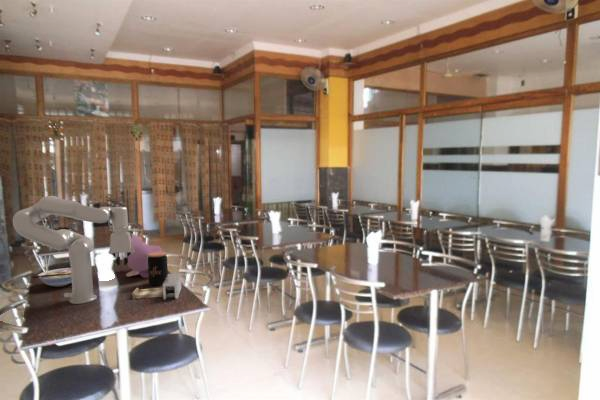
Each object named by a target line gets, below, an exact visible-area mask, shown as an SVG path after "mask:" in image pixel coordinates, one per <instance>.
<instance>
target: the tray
mask: <svg viewBox="0 0 600 400" xmlns="http://www.w3.org/2000/svg"><path fill="white" fill-rule="evenodd" d="M131 294H132V299H133V300H134V299H135V298H137V299H151V298H163V287H158V288H157V287H156V288H144V289H143V288H141V289H139V287H136V288H135V289H134V290H133V292H132V293H131Z"/></svg>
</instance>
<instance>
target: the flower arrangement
mask: <svg viewBox="0 0 600 400" xmlns="http://www.w3.org/2000/svg"><path fill="white" fill-rule="evenodd" d="M130 235H131V241H132V247H133V249H134V250H135V252H134V253H132V254H130V255H129V256H128V263H127V267H128V268H129V269H131V271H129V272H127V273H126V274H125V277H132V276H137V275H138V276H139V275H140V277H142V278H144V279H147V278H148V279H149V275H148V254H149V253H152V252H163V250H162V248H161V247H160V246H159V245H149V244H147V243H146V242H145V241H143V238H142V237H140V236H138V235H136V234H134V233H130ZM129 252H130V251H129ZM129 252H128V253H129Z"/></svg>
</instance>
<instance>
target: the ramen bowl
mask: <svg viewBox="0 0 600 400" xmlns="http://www.w3.org/2000/svg"><path fill="white" fill-rule="evenodd" d="M31 278H32V279H39V280H40V281H41V282H42V283H43V284H45V285H47V286H51V287H52V286H53V287H56V288H59V287H60V288H61V287H66V286H68V285H69V284H70V285H71V284H72V277H71V267H65V268H64V267H63V268H56V269H50V270H47V271H43V272H41V273H39V274H37V275H33V276H31Z"/></svg>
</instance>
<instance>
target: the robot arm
mask: <svg viewBox="0 0 600 400" xmlns="http://www.w3.org/2000/svg"><path fill="white" fill-rule="evenodd" d="M51 215H54V216H58V217H59V216H60V217H66V218H71V219H75V220H79V221H83V222H89V223H94V224H95V223H97V224H103V223H104V224H105V223H106V222H108V221H111V222H112V223H111V225H112V227H111V228H109V232H112V233H110V241H109V250H108V254H109V255H112V256H113V257H114V258H115V264H117V267H119V266H120V265H121V256H120V253H124V258H123V261H124V263H123V265H124V266H126V265H127V263H128V256H129V255H130V254H132V253H134V252H135V250H134V249H133V247H132V241H131V237H132V235H131V233H130V232H129V219H128V218H129V217H128V207H126V206H115V207H113V206H100V207H94V206H88V205H85V204H84V205H83V204H81V203H80V202H79V201H76V200H70V199H64V198H59V197H58V196H57V195H49V196H48V195H47V196H44V197H42V198H40V199H39V201H38V202H36V203H34V204H33V205H31V206H29V207H26V208H23V209H21V210H18V211H17V212H15V214H14V215H13V218H12V225H13V228H14V230H15V231H16V232H17V234H18V235H20V237H21V236H22V237H23V238H25V239H26V240H30V241H32V242H35V243H37V244H39V245H43V246H46V247H48V248H51V249H53V250H56V251H61V250H65V249H66V250H68V258H69V262H70V263H69V265H70V268H71V277H72V283H71V289H72V291H71V292H64V294H63V297H64V299H69V303H71V304H73V305H78V304H79V305H80V304H87V303H90V302H91V303H92V302H94V301H95V300H97V298H98V296H97V294H94V285H93V284H94V283H93V282H94V281H93V267H92V259H91V253H92V251H93V250H94V246H95V244H94V242H93V240H92V239H91V238H90V237H88V236H86V235H83V234H80V233H78V232H75V231H72V230H70V229H64V228H61V229H58V230H55V229H53V228H50V227H46V226H45V225H44V226H43V225H41V224H37V223H39V222H41V221H42V220H44V219H47V217H50V216H51ZM129 251H130V252H129ZM128 252H129V253H128ZM127 266H128V265H127Z"/></svg>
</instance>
